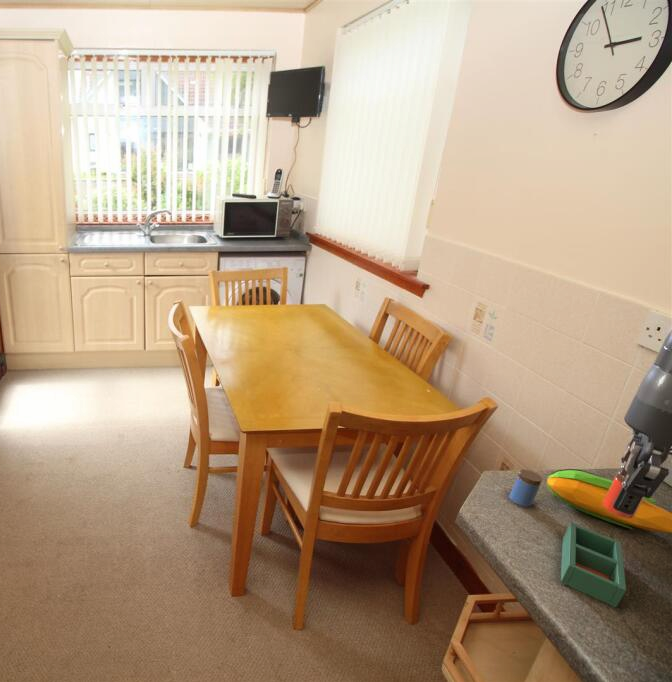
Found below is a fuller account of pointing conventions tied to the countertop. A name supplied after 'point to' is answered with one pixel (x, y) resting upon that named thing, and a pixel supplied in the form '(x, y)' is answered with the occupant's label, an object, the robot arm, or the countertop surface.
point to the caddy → (593, 564)
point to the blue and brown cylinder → (525, 487)
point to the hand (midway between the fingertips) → (621, 502)
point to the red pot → (614, 492)
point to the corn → (590, 493)
